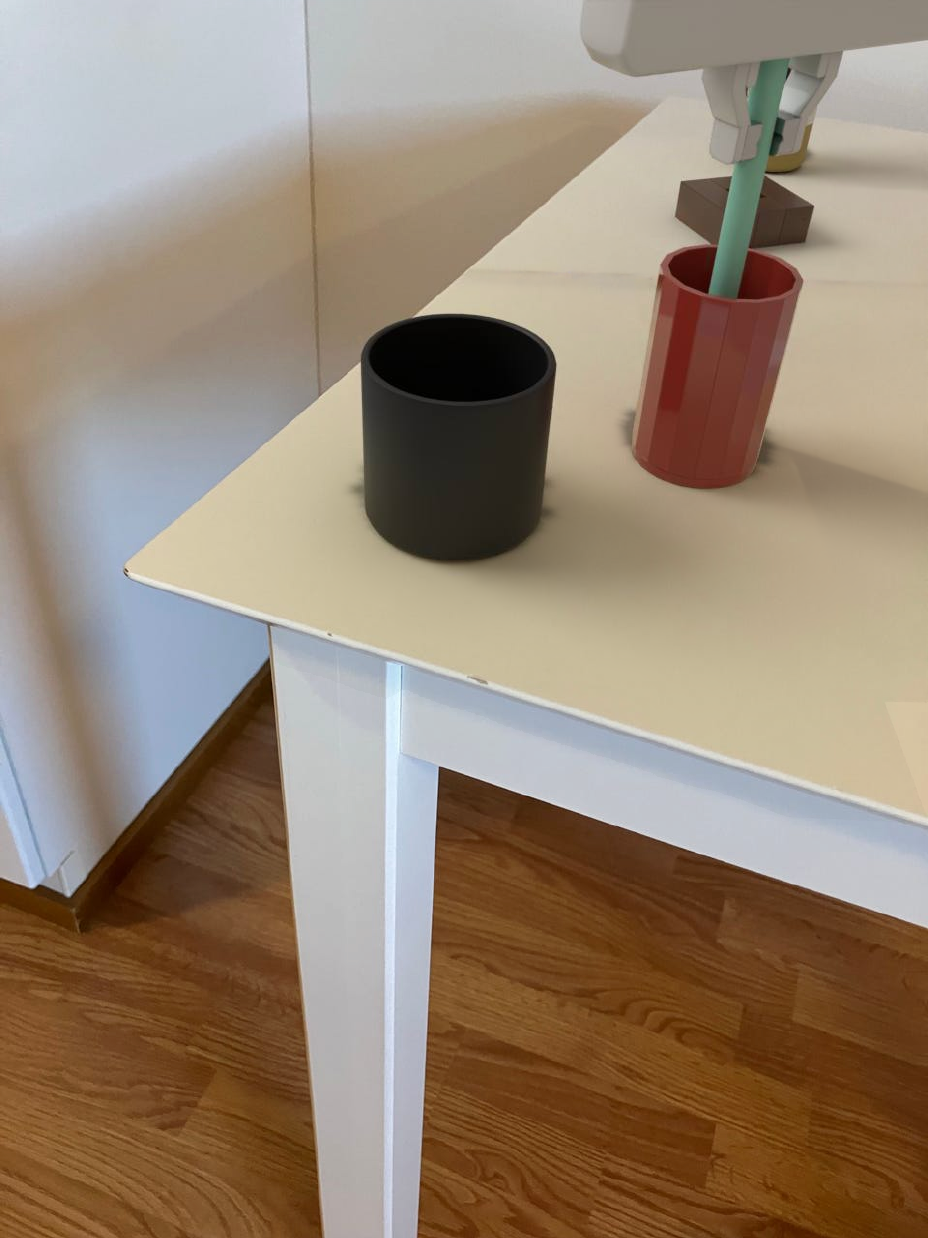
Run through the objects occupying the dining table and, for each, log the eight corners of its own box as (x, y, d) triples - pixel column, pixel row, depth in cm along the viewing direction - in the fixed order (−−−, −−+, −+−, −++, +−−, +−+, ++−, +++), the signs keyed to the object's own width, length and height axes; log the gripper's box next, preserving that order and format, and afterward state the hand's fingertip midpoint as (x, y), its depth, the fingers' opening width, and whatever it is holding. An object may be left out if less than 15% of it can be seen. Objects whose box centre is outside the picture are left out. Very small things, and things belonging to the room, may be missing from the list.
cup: (741, 423, 65) (784, 246, 58) (768, 490, 60) (818, 304, 53) (624, 419, 65) (652, 241, 58) (640, 486, 60) (673, 299, 52)
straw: (730, 307, 57) (805, -38, 47) (735, 319, 56) (814, -31, 46) (702, 306, 57) (771, -39, 47) (707, 318, 56) (779, -32, 46)
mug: (538, 441, 63) (552, 294, 57) (543, 569, 54) (560, 410, 48) (377, 434, 63) (374, 286, 57) (355, 559, 54) (349, 399, 48)
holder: (751, 220, 90) (761, 172, 88) (802, 256, 85) (814, 205, 83) (672, 229, 88) (680, 180, 86) (719, 266, 83) (729, 214, 80)
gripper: (676, -201, 36) (619, 210, 45) (1060, -199, 44) (947, 148, 53) (569, -217, 40) (537, 164, 49) (940, -213, 48) (854, 112, 57)
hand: (753, 155), depth 51 cm, fingers closed on straw, 1 cm apart
